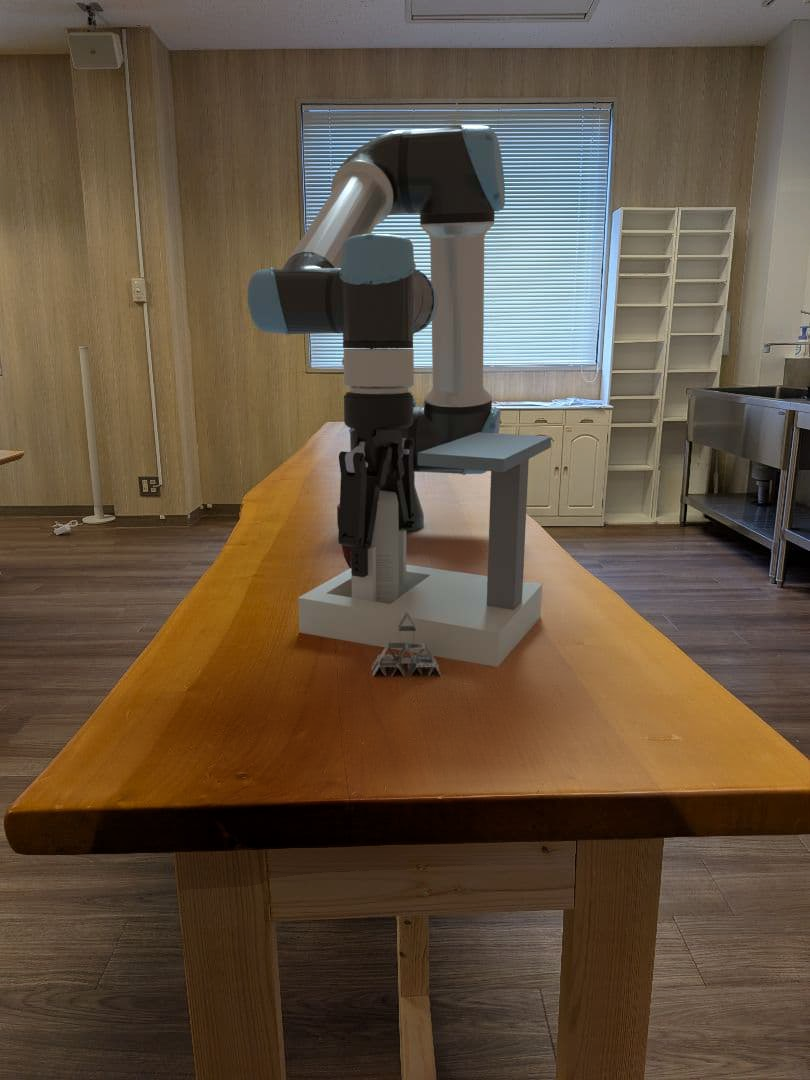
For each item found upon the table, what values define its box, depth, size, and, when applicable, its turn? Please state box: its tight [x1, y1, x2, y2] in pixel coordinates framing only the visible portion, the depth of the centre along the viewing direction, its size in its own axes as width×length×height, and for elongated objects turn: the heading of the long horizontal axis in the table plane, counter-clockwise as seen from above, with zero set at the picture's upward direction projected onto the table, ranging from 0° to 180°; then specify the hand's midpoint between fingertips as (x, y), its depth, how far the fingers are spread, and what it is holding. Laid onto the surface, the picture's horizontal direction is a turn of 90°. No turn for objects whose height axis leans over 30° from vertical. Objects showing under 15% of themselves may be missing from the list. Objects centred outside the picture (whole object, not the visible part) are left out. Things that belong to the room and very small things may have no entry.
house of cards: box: [371, 612, 442, 678], centre depth 72 cm, size 9×9×8 cm
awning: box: [418, 432, 552, 610], centre depth 77 cm, size 17×8×17 cm, turn 155°
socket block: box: [297, 564, 543, 668], centre depth 83 cm, size 16×23×5 cm
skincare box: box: [371, 491, 399, 604], centre depth 83 cm, size 6×4×12 cm
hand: (380, 591), depth 84 cm, fingers closed on skincare box, 7 cm apart
